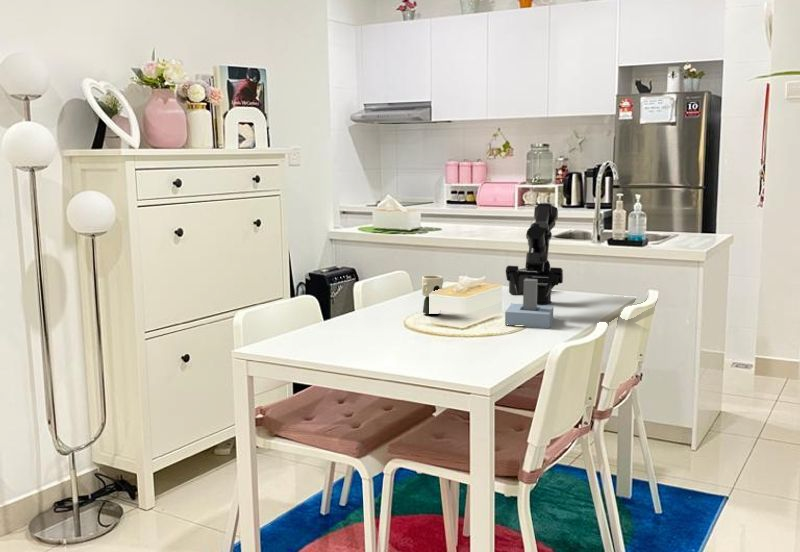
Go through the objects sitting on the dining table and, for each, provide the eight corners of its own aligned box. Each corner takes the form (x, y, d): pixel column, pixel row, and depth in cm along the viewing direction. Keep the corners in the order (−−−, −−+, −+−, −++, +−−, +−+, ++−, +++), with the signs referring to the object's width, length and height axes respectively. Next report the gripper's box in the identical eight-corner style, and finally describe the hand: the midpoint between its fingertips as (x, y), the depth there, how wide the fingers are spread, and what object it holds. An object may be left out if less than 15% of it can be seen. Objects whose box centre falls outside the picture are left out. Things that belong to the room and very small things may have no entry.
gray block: (524, 317, 269) (525, 278, 266) (536, 318, 268) (537, 279, 265) (522, 320, 265) (523, 280, 263) (535, 320, 264) (536, 281, 262)
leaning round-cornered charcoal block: (517, 296, 310) (517, 271, 309) (507, 294, 313) (508, 270, 312) (543, 291, 321) (543, 267, 320) (533, 289, 324) (534, 265, 323)
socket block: (510, 316, 275) (511, 303, 274) (553, 318, 271) (553, 305, 270) (505, 325, 262) (505, 311, 261) (549, 328, 258) (549, 314, 257)
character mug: (432, 318, 271) (432, 280, 269) (414, 316, 275) (414, 278, 273) (449, 313, 280) (449, 275, 278) (432, 310, 284) (432, 273, 282)
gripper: (507, 241, 275) (501, 279, 266) (563, 243, 270) (559, 282, 261) (509, 261, 283) (504, 298, 275) (564, 263, 279) (560, 301, 270)
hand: (531, 295), depth 270 cm, fingers open, 9 cm apart
